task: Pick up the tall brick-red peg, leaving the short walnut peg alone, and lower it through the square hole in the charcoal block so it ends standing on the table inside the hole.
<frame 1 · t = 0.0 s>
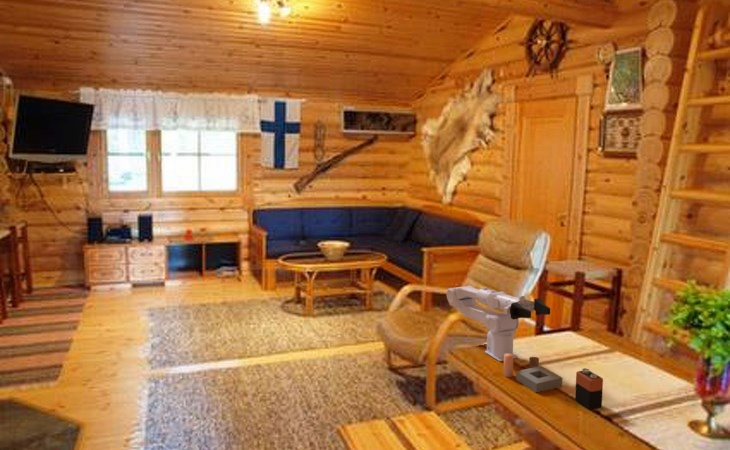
hand: (539, 313, 178), 22 cm above the table, tool horizontal, fingers open, 7 cm apart
battery: (588, 404, 163), on the table
hole block: (538, 383, 177), on the table
short peg: (533, 369, 187), on the table
long peg: (508, 375, 183), on the table
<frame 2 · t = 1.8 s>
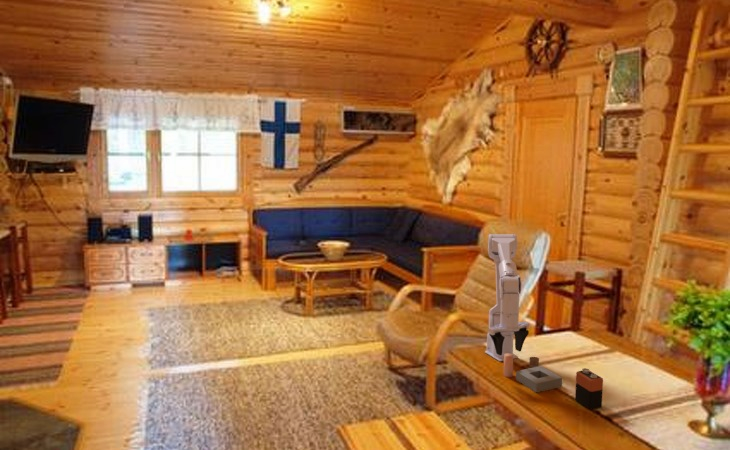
hand: (508, 352, 182), 8 cm above the table, tool pointing down, fingers open, 7 cm apart
nothing on the table moved.
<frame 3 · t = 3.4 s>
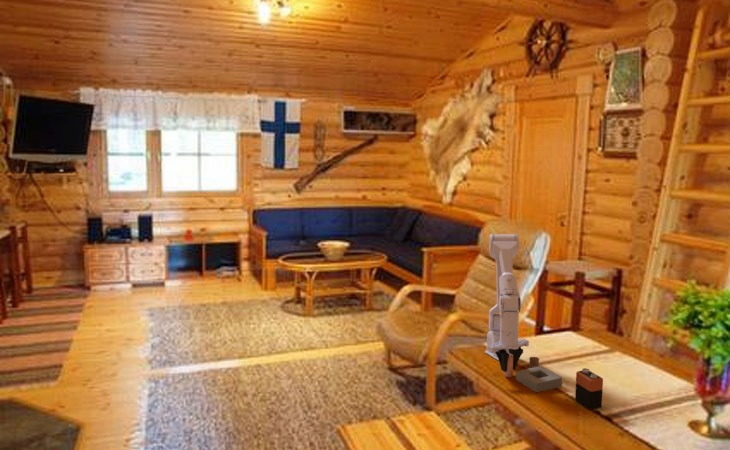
hand: (508, 369, 183), 2 cm above the table, tool pointing down, fingers closed on long peg, 3 cm apart
long peg: (508, 375, 183), on the table, touching gripper
everything else where it was.
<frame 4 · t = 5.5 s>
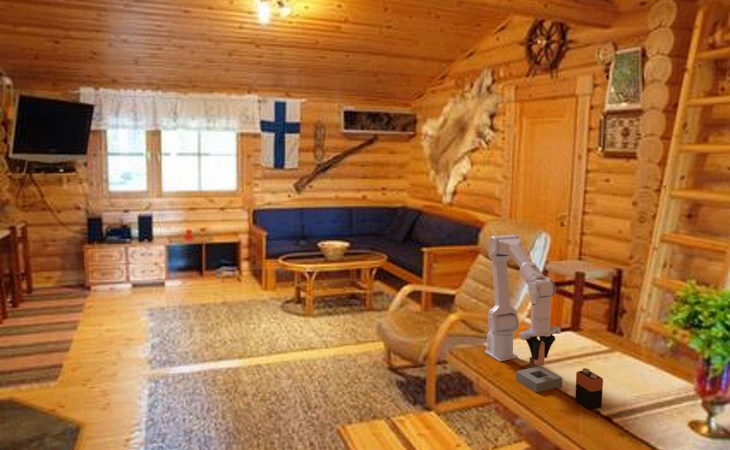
hand: (539, 357, 176), 9 cm above the table, tool pointing down, fingers closed on long peg, 3 cm apart
long peg: (539, 363, 176), point 7 cm above the table, touching gripper
everything else where it was.
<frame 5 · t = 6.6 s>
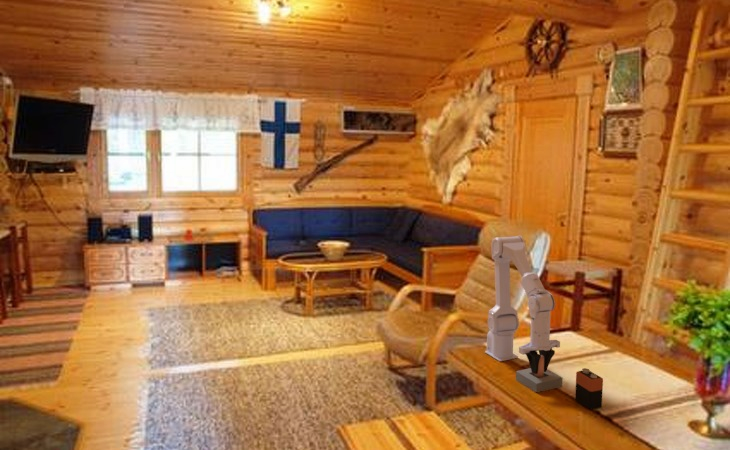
hand: (538, 371, 176), 4 cm above the table, tool pointing down, fingers closed on long peg, 3 cm apart
long peg: (538, 377, 177), point 2 cm above the table, touching gripper
everything else where it was.
when the fingers open (4 cm above the table, at t = 7.5 s): long peg drops 2 cm, resting in hole block.
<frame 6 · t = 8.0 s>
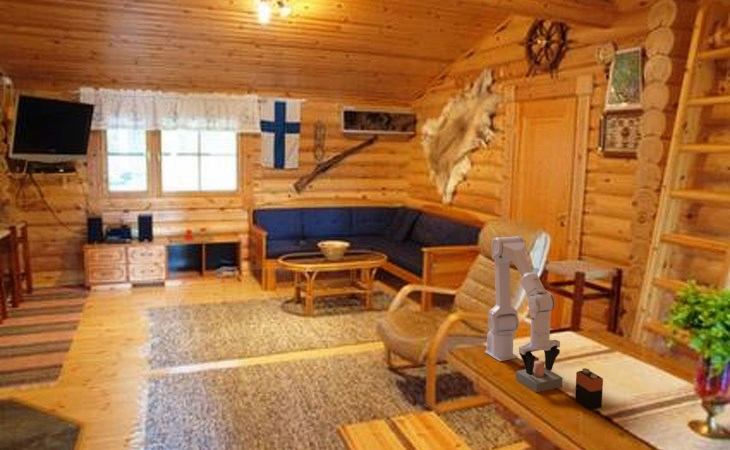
hand: (538, 371, 176), 4 cm above the table, tool pointing down, fingers open, 7 cm apart
long peg: (538, 383, 177), resting in hole block
everything else where it was.
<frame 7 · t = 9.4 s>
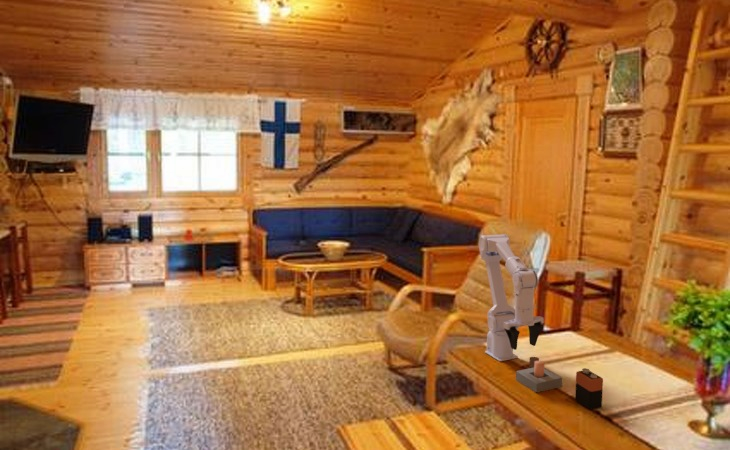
hand: (523, 346, 183), 9 cm above the table, tool pointing down, fingers open, 7 cm apart
nothing on the table moved.
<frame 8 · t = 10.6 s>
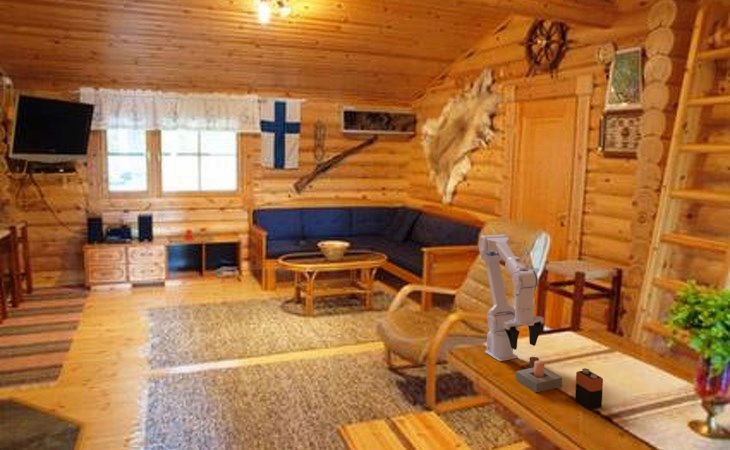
hand: (523, 346, 183), 9 cm above the table, tool pointing down, fingers open, 7 cm apart
nothing on the table moved.
at the end: long peg 0.0 cm off-centre on the hole block, point 0.0 cm above the hole block's base; long peg tilted 1°; short peg moved 0.0 cm from its start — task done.
